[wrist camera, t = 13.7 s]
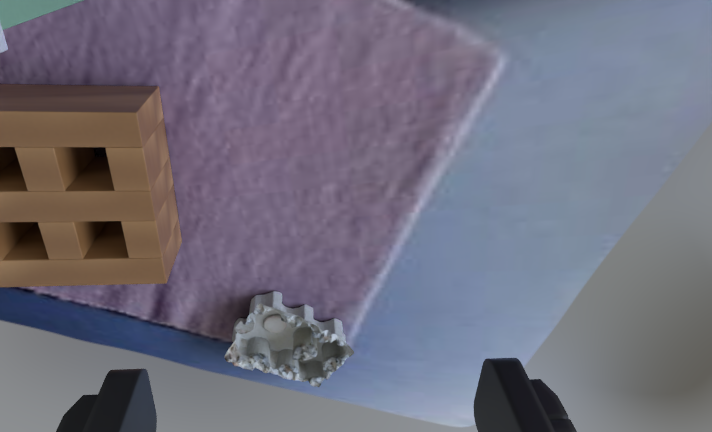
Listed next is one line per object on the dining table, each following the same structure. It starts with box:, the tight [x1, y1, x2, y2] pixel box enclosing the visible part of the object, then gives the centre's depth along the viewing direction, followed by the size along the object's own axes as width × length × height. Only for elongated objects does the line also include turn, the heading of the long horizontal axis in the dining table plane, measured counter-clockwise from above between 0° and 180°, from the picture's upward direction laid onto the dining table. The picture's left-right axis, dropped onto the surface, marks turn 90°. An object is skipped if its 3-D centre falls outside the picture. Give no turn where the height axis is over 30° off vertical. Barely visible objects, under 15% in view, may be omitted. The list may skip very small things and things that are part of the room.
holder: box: [0, 84, 182, 287], centre depth 38 cm, size 14×14×6 cm
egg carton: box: [225, 291, 354, 387], centre depth 49 cm, size 11×8×4 cm
